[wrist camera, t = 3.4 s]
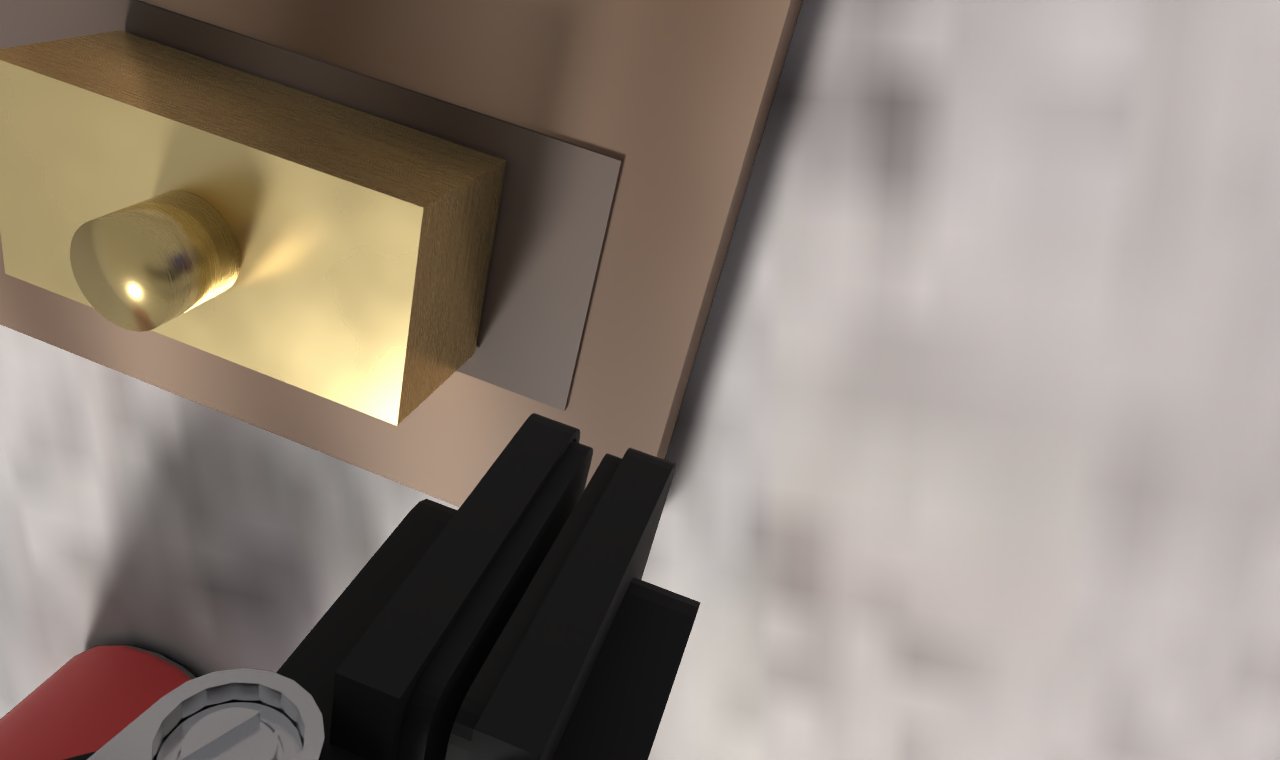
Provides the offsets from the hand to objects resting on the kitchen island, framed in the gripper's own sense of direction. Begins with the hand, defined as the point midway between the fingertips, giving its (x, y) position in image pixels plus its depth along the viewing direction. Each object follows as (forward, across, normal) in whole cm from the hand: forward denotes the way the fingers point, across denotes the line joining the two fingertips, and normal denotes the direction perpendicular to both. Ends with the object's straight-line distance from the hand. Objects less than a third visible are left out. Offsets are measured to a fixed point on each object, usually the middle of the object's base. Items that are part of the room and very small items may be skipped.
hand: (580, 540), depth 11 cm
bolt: (+7, +8, +1) cm, 11 cm away
